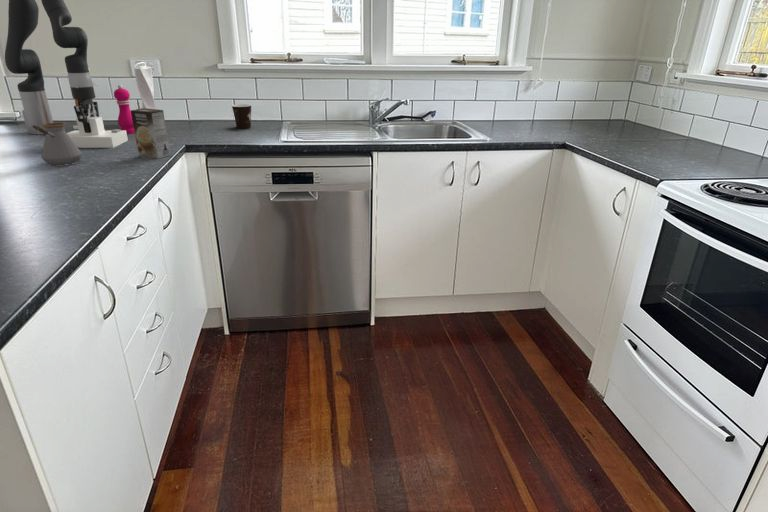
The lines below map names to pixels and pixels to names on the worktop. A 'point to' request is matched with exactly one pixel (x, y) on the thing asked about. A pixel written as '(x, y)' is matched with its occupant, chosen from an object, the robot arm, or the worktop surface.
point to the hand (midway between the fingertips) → (91, 131)
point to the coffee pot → (58, 145)
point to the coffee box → (150, 133)
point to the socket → (99, 139)
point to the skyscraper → (145, 86)
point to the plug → (95, 125)
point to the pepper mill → (124, 110)
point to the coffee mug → (242, 115)
